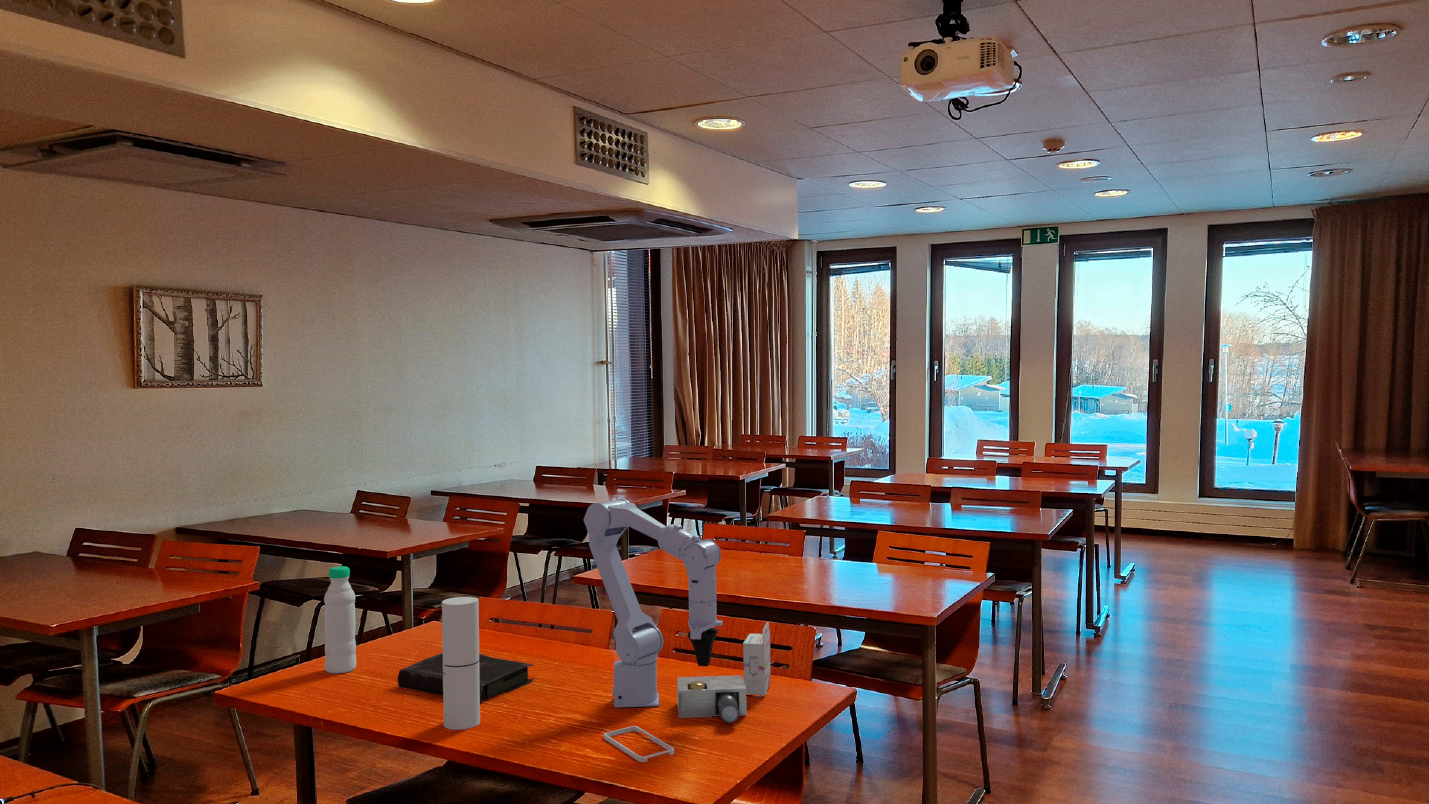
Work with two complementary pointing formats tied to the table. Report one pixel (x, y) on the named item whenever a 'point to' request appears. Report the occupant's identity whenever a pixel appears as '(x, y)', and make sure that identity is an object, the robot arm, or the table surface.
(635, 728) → the phone case
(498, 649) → the table surface
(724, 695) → the cartridge
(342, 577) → the water bottle
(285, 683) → the table surface
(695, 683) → the plunger
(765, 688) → the ink cartridge box
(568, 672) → the table surface
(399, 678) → the diary
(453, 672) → the cylindrical container
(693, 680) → the housing
